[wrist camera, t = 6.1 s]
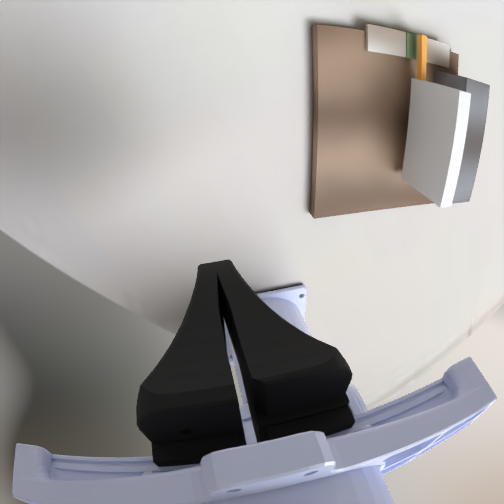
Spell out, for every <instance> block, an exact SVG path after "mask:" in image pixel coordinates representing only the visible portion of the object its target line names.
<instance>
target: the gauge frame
mask: <svg viewBox="0 0 504 504" xmlns="http://www.w3.org/2000/svg"><path fill="white" fill-rule="evenodd" d="M312 37H313V158H312V186H311V208H310V214H311V215H312V216H313V218H321V217H329V216H336V215H343V214H351V213H358V212H366V211H373V210H381V209H389V208H397V207H405V206H413V205H421V204H430V203H434V202H432V201H431V200H430V199H428V198H427V197H426V196H424V195H423V194H422V193H420V192H419V191H417V190H416V189H415V188H413V187H412V186H411V185H409V184H408V183H406V182H405V181H404V180H402V179H401V175H402V169H403V162H404V154H405V147H406V139H407V130H408V120H409V108H410V95H411V78H414V79H416V75H417V35H416V34H412V33H408V32H403V31H399V30H395V29H391V28H386V27H382V26H377V25H372V24H365V30H359V29H352V28H345V27H337V26H328V25H318V24H317V25H312ZM458 57H459V54H456V53H453V52H450V45H448V44H445V43H442V42H438V41H435V40H432V39H429V38H427V64H426V81H429V82H433V83H437V84H440V85H444V86H448V87H451V88H455V89H458V90H461V91H465V92H468V93H471V100H470V109H469V118H468V125H467V132H466V139H465V145H464V150H463V156H462V161H461V166H460V171H459V176H458V180H457V185H456V189H455V193H454V197H453V201H452V203H460V202H469V201H470V197H471V193H472V189H473V185H474V181H475V177H476V172H477V168H478V163H479V158H480V153H481V148H482V142H483V136H484V130H485V123H486V116H487V108H488V99H489V88H490V85H487V84H484V83H481V82H478V81H475V80H472V79H469V78H466V77H462V76H458Z"/></svg>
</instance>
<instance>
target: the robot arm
mask: <svg viewBox="0 0 504 504" xmlns="http://www.w3.org/2000/svg"><path fill="white" fill-rule="evenodd" d="M300 294H302V295H300ZM306 298H307V288H306V286H304V285H300V286H295V287H290V288H285V289H280V290H274V291H269V292H264V293H259V294H256V293H255V292H254V291H253V290H252V289H251V288H250V287H249V285H248V284H247V283H246V282H245V281H244V279H243V278H242V277H241V275H240V274H239V273H238V271H237V270H236V268H235V266H234V265H233V263H232V261H230V260H224V261H218V262H212V263H206V264H200V265H199V266H198V273H197V279H196V284H195V288H194V291H193V295H192V298H191V301H190V304H189V307H188V309H187V312H186V315H185V317H184V319H183V322H182V324H181V326H180V328H179V330H178V332H177V334H176V336H175V338H174V339H173V341H172V343H171V345H170V347H169V348H168V350H167V351H166V353H165V354H164V356H163V357H162V359H161V360H160V361H159V363H158V364H157V366H156V367H155V368H154V370H153V371H152V372H151V373H150V375H149V376H148V377H147V378H146V379H145V380H144V382H143V383H142V384H141V385H140V390H139V394H138V400H137V409H136V412H137V426H138V428H139V430H140V431H141V432H142V433H143V434H144V435H145V436H146V437H147V438H148V439H149V440H150V441H151V442H152V454H153V457H125V458H124V457H123V458H108V457H105V458H103V457H79V456H65V455H54V454H51V453H50V452H48V451H47V450H46V449H44V448H41V447H38V446H34V445H27V444H20V443H18V444H16V451H15V452H16V453H15V463H14V474H13V493H12V495H13V497H14V498H17V499H19V500H21V501H24V502H26V503H28V504H394V502H393V500H392V497H391V495H390V492H389V490H388V488H387V485H386V483H385V481H384V479H383V476H382V475H383V474H386V473H388V472H390V471H392V470H394V469H396V468H398V467H400V466H402V465H403V464H405V463H407V462H409V461H411V460H413V459H415V458H416V457H418V456H420V455H422V454H423V453H425V452H427V451H429V450H430V449H432V448H434V447H435V446H437V445H439V444H440V443H442V442H444V441H445V440H447V439H448V438H450V437H452V436H453V435H454V434H456V433H458V432H459V431H461V430H462V429H464V428H465V427H467V426H468V425H470V424H471V423H472V422H473V421H474V420H475V419H476V418H477V417H478V416H480V415H481V414H482V413H483V412H484V411H485V410H486V409H487V408H488V407H489V406H490V405H491V404H492V403H493V402H494V401H495V400H496V399H497V397H496V395H495V394H494V392H493V390H492V389H491V387H490V386H489V384H488V383H487V381H486V380H485V378H484V376H483V375H482V373H481V372H480V371H479V369H478V368H477V366H476V365H475V363H474V362H473V360H472V359H471V358H470V357H467V358H465V359H463V360H462V361H460V362H458V363H456V364H454V365H453V366H451V367H450V368H449V369H448V370H447V371H446V372H445V373H444V375H443V377H442V378H441V379H440V380H437V381H435V382H433V383H431V384H429V385H427V386H425V387H423V388H421V389H419V390H416V391H414V392H412V393H410V394H408V395H405V396H403V397H401V398H398V399H396V400H394V401H391V402H389V403H387V404H384V405H382V406H379V407H376V408H374V409H371V410H369V411H368V410H367V408H366V406H365V403H364V401H363V399H362V397H361V396H360V394H359V392H358V390H357V389H356V387H355V386H354V385H352V384H350V381H351V379H352V372H351V370H350V367H349V365H348V364H347V362H346V360H345V359H344V358H343V356H342V355H341V353H340V352H339V351H338V349H337V348H335V347H333V346H330V345H328V344H326V343H324V342H321V341H319V340H317V339H315V338H313V337H312V336H311V334H310V332H309V330H308V328H307V325H306V323H305V321H304V318H305V308H306ZM230 364H234V366H235V371H236V375H237V379H238V384H239V388H240V392H241V397H242V401H243V405H242V406H239V403H238V398H237V394H236V390H235V385H234V380H233V376H232V372H231V367H230Z"/></svg>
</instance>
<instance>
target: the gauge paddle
mask: <svg viewBox="0 0 504 504" xmlns="http://www.w3.org/2000/svg"><path fill="white" fill-rule="evenodd" d="M426 64H427V36H426V35H422V34H417V75H416V79H414V78H411V95H410V108H409V120H408V130H407V139H406V147H405V154H404V162H403V169H402V175H401V179H402V180H404V181H405V182H406V183H408V184H409V185H411V186H412V187H413V188H415V189H416V190H417V191H419V192H420V193H422V194H423V195H424V196H426V197H427V198H428V199H430V200H431V201H432V202H434V203H435V204H436V205H437V206H439V207H440V208H441V207H449V206H451V205H452V201H453V197H454V193H455V189H456V185H457V180H458V176H459V171H460V166H461V161H462V156H463V150H464V145H465V139H466V132H467V125H468V118H469V109H470V100H471V93H468V92H465V91H461V90H458V89H455V88H451V87H448V86H444V85H440V84H437V83H433V82H429V81H426Z"/></svg>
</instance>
